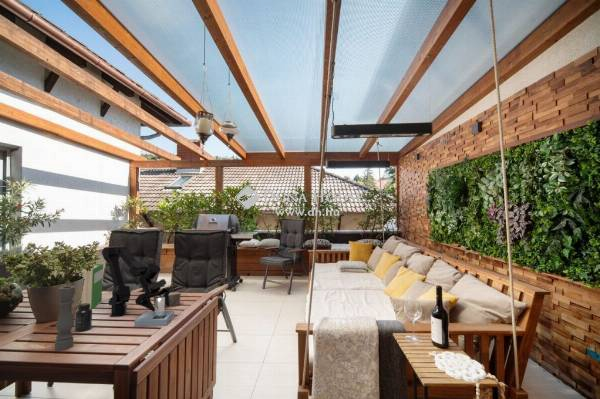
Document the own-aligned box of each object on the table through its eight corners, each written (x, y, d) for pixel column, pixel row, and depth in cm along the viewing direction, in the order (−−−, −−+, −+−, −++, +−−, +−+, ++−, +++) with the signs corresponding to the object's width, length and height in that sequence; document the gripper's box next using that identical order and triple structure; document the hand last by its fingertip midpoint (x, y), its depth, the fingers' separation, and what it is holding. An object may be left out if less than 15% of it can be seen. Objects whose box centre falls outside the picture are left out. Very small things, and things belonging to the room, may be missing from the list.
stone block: (157, 311, 175) (158, 297, 175) (153, 307, 182) (153, 294, 182) (181, 306, 184) (182, 293, 185) (176, 303, 191) (177, 290, 191)
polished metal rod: (155, 325, 152) (156, 299, 153) (154, 322, 156) (154, 297, 156) (164, 323, 155) (165, 297, 155) (163, 320, 158) (163, 295, 159)
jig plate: (134, 326, 149) (134, 320, 149) (145, 316, 164) (146, 311, 164) (165, 325, 151) (166, 319, 151) (174, 315, 166) (174, 310, 166)
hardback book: (92, 309, 177) (94, 268, 178) (78, 310, 174) (80, 269, 176) (101, 301, 193) (103, 264, 195) (88, 302, 191) (89, 264, 192)
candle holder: (61, 344, 128) (64, 285, 130) (76, 344, 129) (79, 285, 130) (50, 351, 122) (53, 289, 124) (66, 350, 123) (69, 289, 124)
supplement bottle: (94, 327, 148) (95, 303, 148) (80, 332, 141) (82, 307, 142) (85, 326, 150) (86, 301, 151) (70, 330, 144) (72, 305, 144)
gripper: (140, 278, 150) (155, 303, 145) (169, 272, 167) (184, 294, 162) (128, 292, 152) (143, 317, 147) (158, 284, 169) (172, 307, 164)
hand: (161, 308), depth 155 cm, fingers open, 9 cm apart
